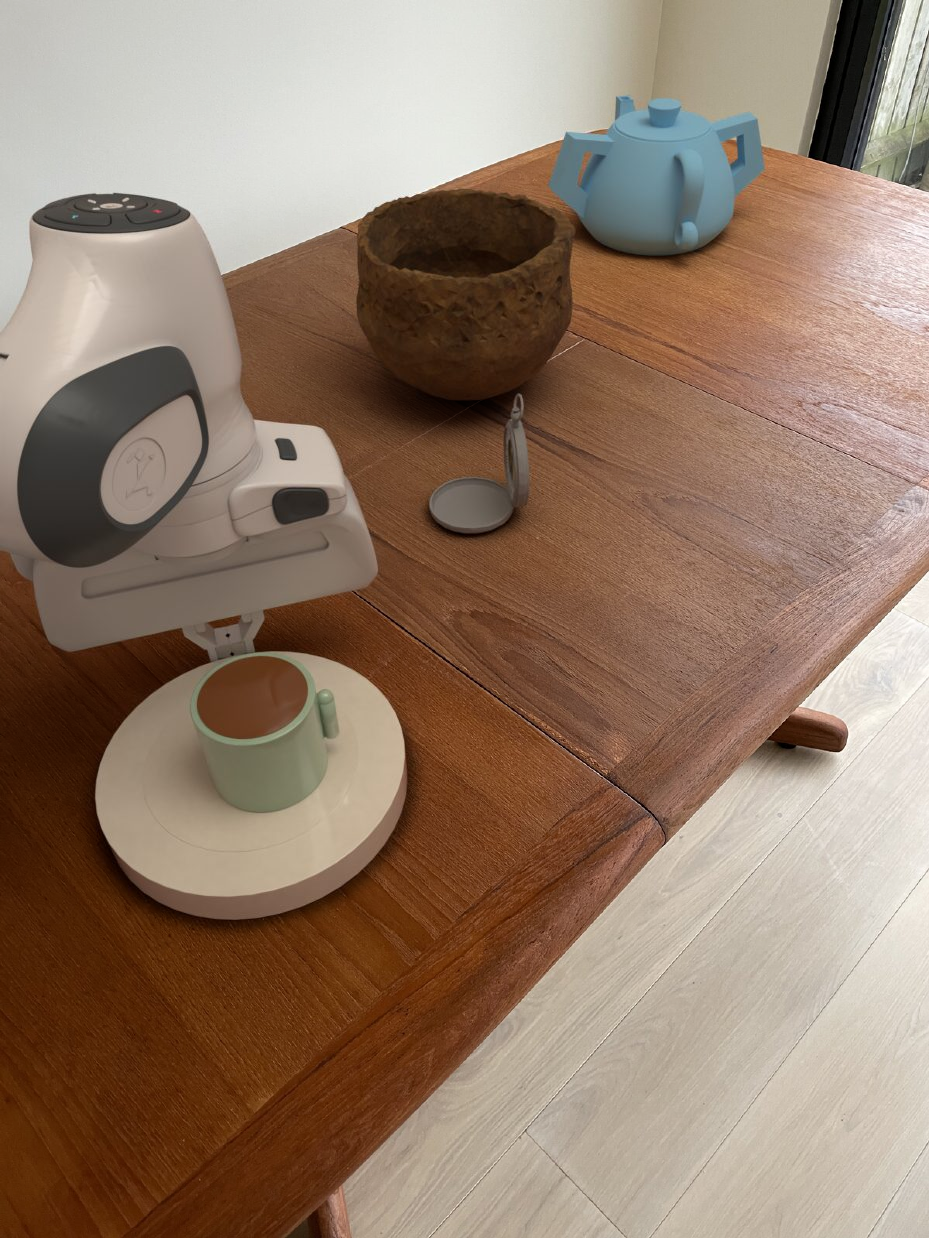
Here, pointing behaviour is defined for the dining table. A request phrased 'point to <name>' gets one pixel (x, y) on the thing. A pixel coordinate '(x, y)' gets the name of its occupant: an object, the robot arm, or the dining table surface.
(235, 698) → the teacup
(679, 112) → the teapot
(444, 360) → the bowl
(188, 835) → the plate
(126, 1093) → the dining table surface
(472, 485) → the pocket watch
